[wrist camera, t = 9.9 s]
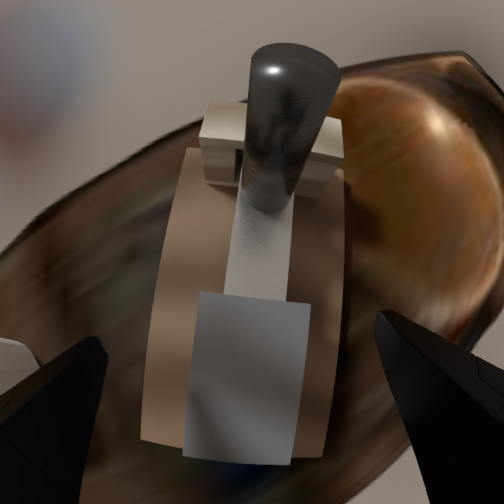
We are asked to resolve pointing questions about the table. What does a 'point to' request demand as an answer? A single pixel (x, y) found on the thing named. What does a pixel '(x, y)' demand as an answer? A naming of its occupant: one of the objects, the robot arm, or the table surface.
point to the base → (209, 273)
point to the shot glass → (15, 363)
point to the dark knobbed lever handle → (275, 162)
